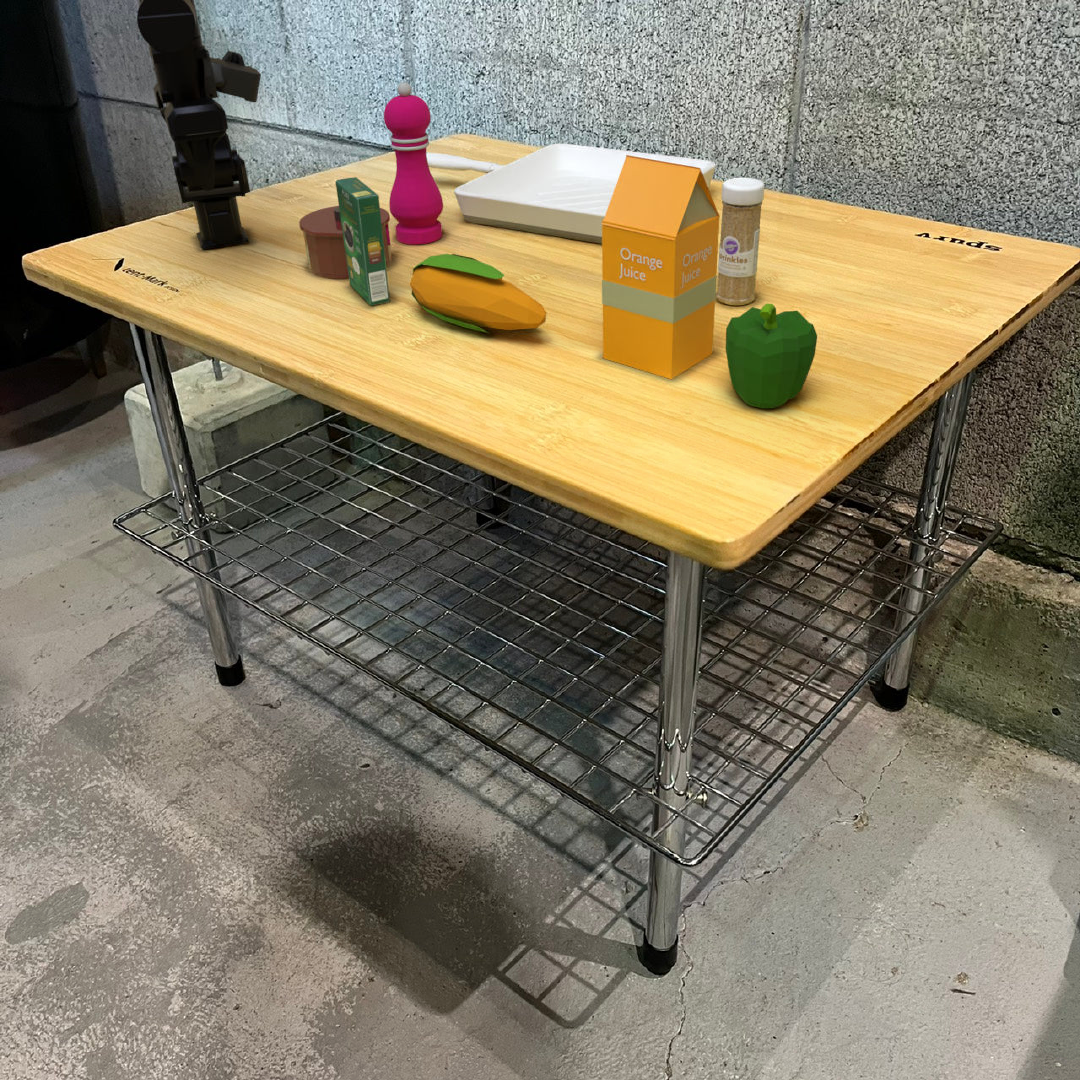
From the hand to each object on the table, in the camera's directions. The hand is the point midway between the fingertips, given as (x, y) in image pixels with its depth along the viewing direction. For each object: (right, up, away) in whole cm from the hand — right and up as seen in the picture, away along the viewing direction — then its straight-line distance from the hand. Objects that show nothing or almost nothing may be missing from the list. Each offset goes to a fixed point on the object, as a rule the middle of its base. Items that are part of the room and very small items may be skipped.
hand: (204, 180), depth 130 cm
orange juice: (+52, -24, -15) cm, 59 cm away
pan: (+40, +7, +31) cm, 51 cm away
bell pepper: (+62, -29, -24) cm, 72 cm away
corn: (+34, -19, -7) cm, 39 cm away
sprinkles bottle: (+63, -15, -3) cm, 65 cm away
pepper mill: (+24, -2, +20) cm, 31 cm away
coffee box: (+19, -13, +3) cm, 24 cm away
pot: (+15, -7, +12) cm, 21 cm away
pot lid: (+15, -2, +9) cm, 18 cm away
